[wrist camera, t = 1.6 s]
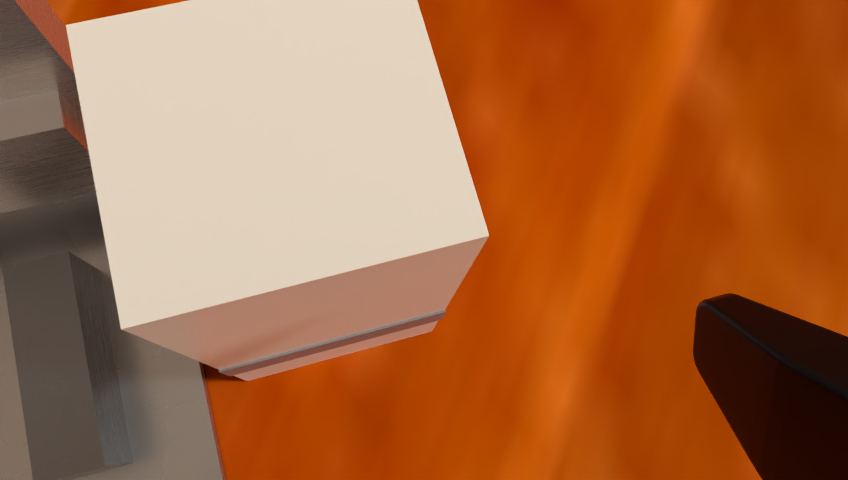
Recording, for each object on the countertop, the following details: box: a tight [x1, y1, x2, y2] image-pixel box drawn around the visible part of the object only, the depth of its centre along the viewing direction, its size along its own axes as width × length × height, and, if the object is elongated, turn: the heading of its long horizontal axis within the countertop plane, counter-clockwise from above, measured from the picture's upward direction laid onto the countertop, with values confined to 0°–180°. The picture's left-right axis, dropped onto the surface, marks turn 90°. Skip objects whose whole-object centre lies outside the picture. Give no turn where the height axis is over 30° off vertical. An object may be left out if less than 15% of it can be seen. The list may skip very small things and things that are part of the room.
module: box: [66, 0, 489, 381], centre depth 15 cm, size 5×5×10 cm
